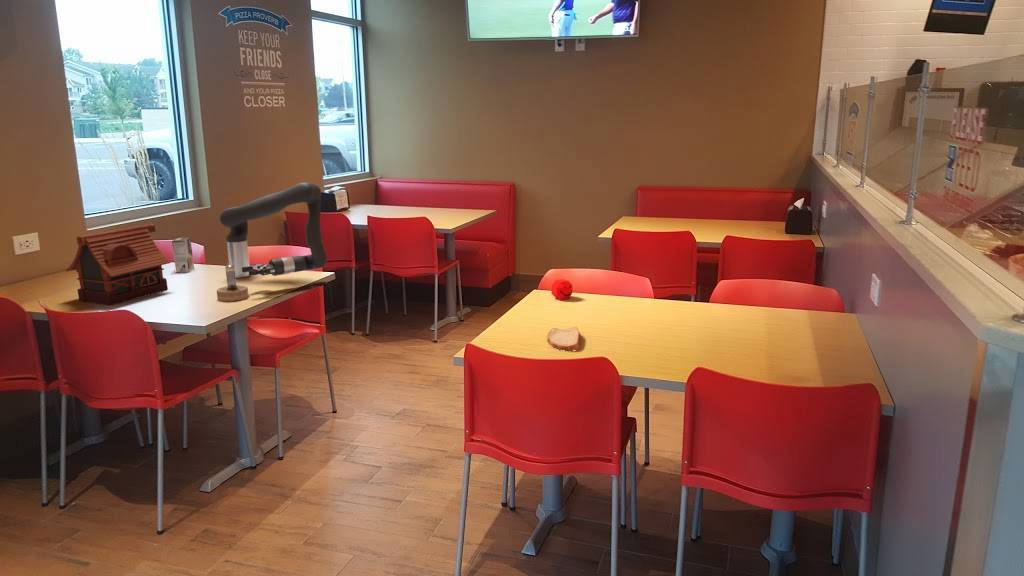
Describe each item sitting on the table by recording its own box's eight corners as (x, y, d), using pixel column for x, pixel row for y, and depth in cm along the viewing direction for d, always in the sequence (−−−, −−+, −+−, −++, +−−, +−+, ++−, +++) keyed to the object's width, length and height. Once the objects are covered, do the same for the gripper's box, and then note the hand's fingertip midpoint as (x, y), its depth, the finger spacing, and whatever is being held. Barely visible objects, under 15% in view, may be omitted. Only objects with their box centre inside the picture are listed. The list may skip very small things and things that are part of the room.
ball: (559, 301, 299) (559, 283, 297) (548, 297, 306) (548, 279, 304) (575, 298, 303) (575, 281, 301) (564, 294, 310) (564, 277, 308)
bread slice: (570, 354, 237) (570, 343, 236) (530, 342, 249) (529, 332, 248) (603, 341, 249) (604, 331, 248) (563, 331, 261) (563, 321, 260)
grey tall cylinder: (227, 297, 312) (223, 265, 308) (236, 296, 314) (232, 264, 311) (230, 299, 309) (226, 267, 306) (239, 297, 311) (235, 265, 308)
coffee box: (181, 268, 369) (177, 237, 365) (194, 268, 370) (190, 237, 366) (175, 272, 360) (171, 240, 356) (188, 272, 361) (185, 240, 357)
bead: (214, 297, 312) (213, 288, 311) (242, 292, 320) (241, 283, 319) (223, 302, 303) (222, 293, 302) (252, 297, 311) (251, 288, 310)
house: (112, 308, 297) (102, 238, 290) (67, 301, 309) (55, 234, 302) (182, 288, 328) (174, 225, 321) (138, 283, 340) (129, 221, 333)
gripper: (275, 255, 327) (238, 260, 317) (287, 260, 316) (250, 265, 306) (276, 271, 329) (240, 277, 319) (289, 277, 318) (252, 283, 308)
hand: (245, 271), depth 313 cm, fingers open, 8 cm apart
